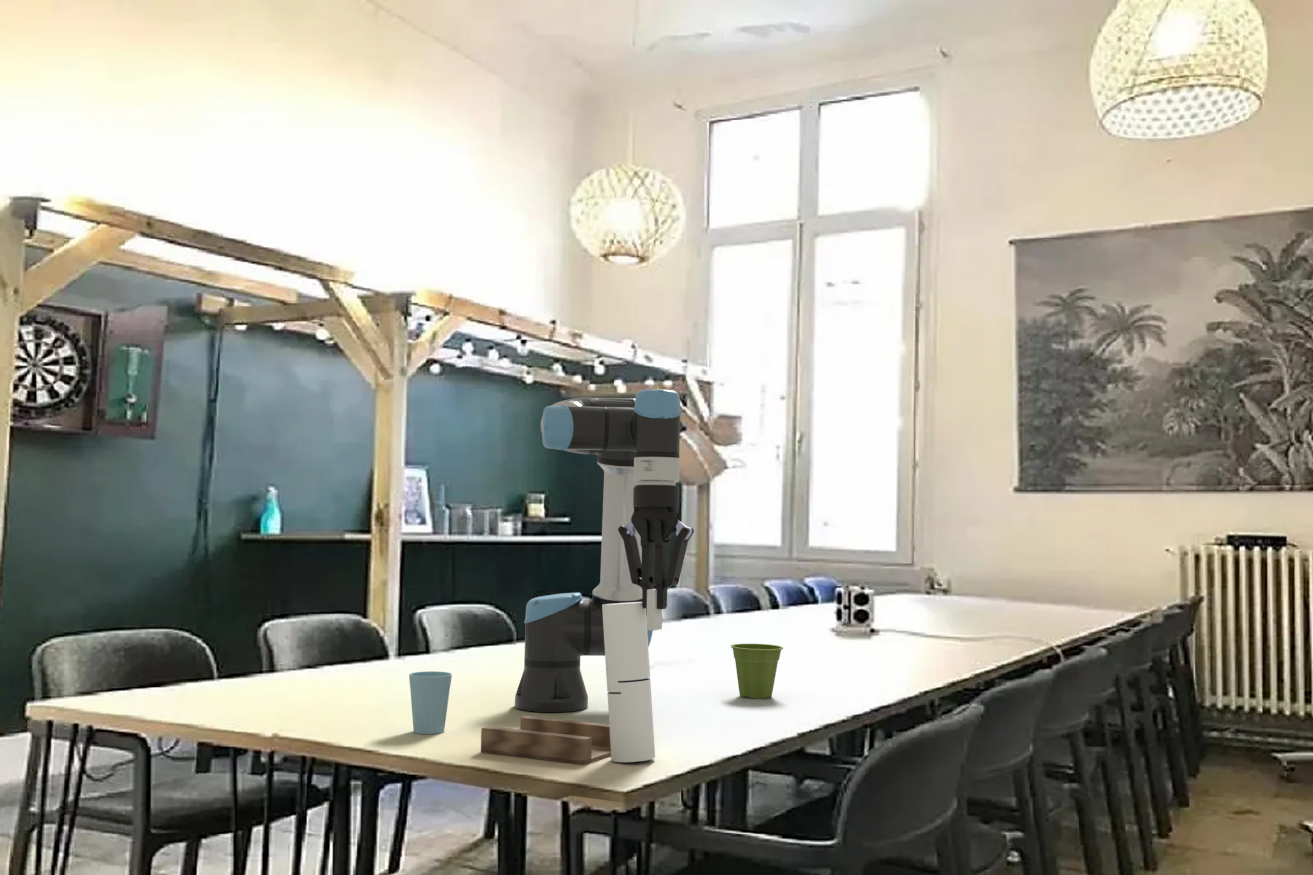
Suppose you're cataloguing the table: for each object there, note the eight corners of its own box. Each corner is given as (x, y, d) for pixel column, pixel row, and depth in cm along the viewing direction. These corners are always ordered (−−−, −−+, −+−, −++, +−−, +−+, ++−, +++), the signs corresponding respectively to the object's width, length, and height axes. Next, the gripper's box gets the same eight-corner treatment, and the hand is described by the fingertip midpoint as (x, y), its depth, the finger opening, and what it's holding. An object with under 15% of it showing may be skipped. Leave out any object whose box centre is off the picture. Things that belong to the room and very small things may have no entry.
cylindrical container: (650, 761, 188) (640, 602, 191) (606, 763, 189) (597, 605, 192) (659, 754, 195) (649, 601, 198) (617, 755, 196) (607, 603, 199)
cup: (448, 735, 211) (449, 676, 212) (404, 735, 211) (406, 676, 212) (452, 728, 219) (454, 671, 220) (410, 728, 218) (412, 671, 219)
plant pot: (749, 702, 257) (750, 649, 257) (719, 694, 267) (720, 644, 268) (793, 698, 262) (793, 647, 263) (762, 691, 273) (762, 642, 273)
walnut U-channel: (480, 752, 197) (481, 727, 197) (526, 739, 209) (526, 716, 209) (585, 764, 188) (585, 739, 188) (626, 750, 200) (626, 726, 201)
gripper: (610, 483, 193) (607, 629, 191) (682, 483, 187) (680, 633, 186) (631, 485, 200) (629, 625, 198) (702, 485, 194) (700, 629, 192)
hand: (654, 629), depth 192 cm, fingers closed
